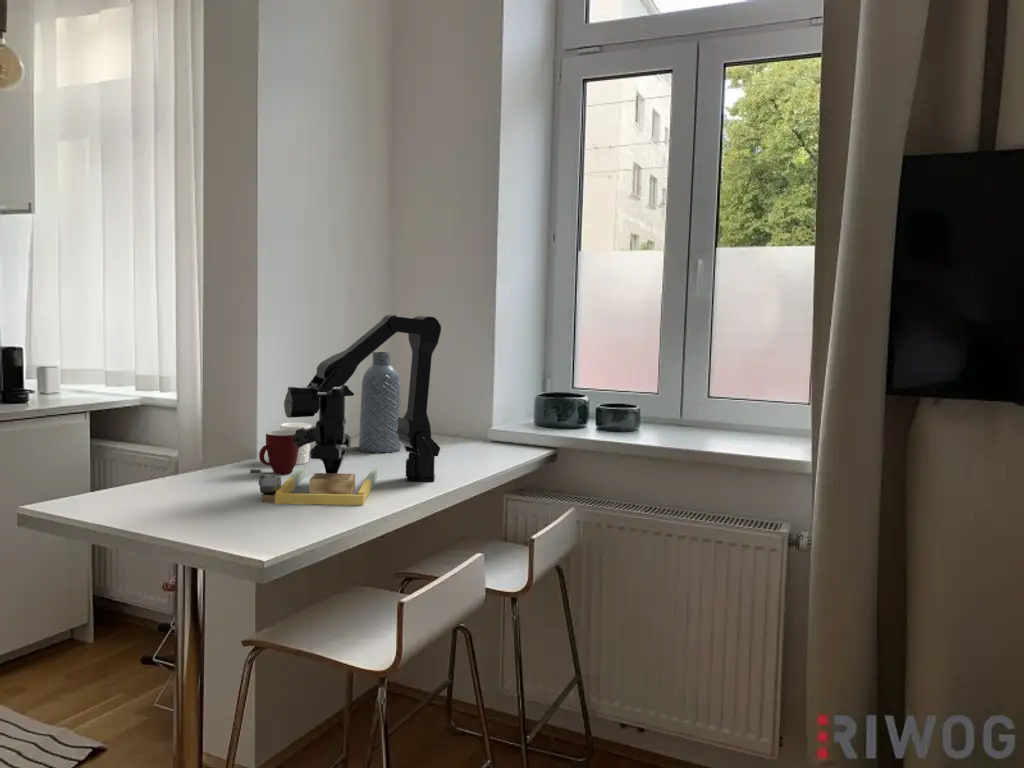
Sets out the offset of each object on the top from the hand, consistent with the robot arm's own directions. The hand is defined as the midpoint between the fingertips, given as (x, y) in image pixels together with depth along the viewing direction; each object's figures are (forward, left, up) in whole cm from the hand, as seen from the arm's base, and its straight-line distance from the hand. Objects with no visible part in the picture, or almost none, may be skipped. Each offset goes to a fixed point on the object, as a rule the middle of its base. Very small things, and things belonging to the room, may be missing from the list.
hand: (331, 482), depth 190 cm
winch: (+12, +13, -1) cm, 18 cm away
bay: (0, +2, -1) cm, 2 cm away
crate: (-1, +5, -1) cm, 6 cm away
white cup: (+14, -29, -1) cm, 32 cm away
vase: (-6, -50, -1) cm, 50 cm away
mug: (+15, -14, -1) cm, 21 cm away
